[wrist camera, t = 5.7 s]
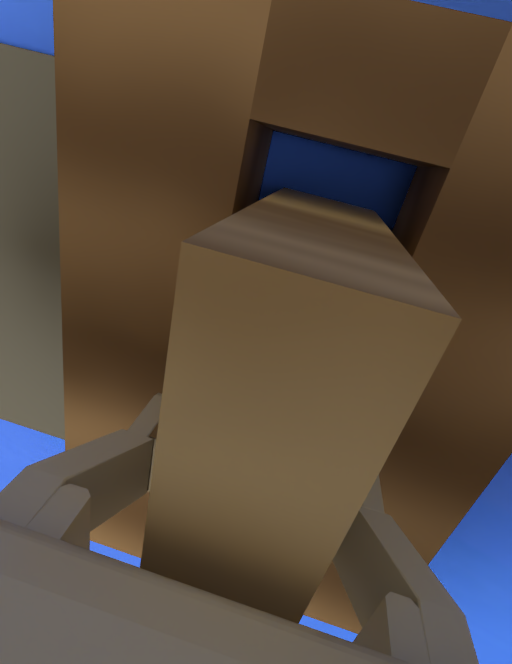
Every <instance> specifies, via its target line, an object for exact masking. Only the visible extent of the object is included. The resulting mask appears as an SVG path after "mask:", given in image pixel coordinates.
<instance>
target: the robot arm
mask: <svg viewBox="0 0 512 664" xmlns="http://www.w3.org/2000/svg"><path fill="white" fill-rule="evenodd" d="M161 399H162V394H160V393H158V394H156V395H154V396H153V398H152V399H151V400H150V402H149V403H148V404H147V406H146V407H145V408H144V409H143V411H142V412H141V413H140V415H139V416H138V417H137V418H136V420H135V421H134V422H133V424H132V425H131V426H130V428H129V429H128V430H124V429H120V430H118V431H115V432H113V433H110V434H108V435H105V436H103V437H100V438H97V439H95V440H92V441H90V442H87V443H85V444H82V445H80V446H77V447H75V448H72V449H70V450H67V451H64V452H62V453H59V454H57V455H54V456H52V457H49V458H47V459H44V460H42V461H39V462H37V463H34V464H32V465H29V466H26V467H25V468H24V469H23V470H22V471H21V472H20V473H19V474H18V475H17V476H16V477H15V478H14V479H13V480H12V481H11V482H10V483H9V484H8V485H7V486H6V487H5V488H4V489H3V490H2V491H1V492H0V664H479V662H478V659H477V655H476V652H475V648H474V645H473V641H472V638H471V634H470V631H469V628H468V624H467V621H466V617H465V615H464V613H463V612H462V611H461V609H460V608H459V607H458V605H457V604H456V603H455V601H454V600H453V599H452V597H451V596H450V595H449V593H448V592H447V590H446V589H445V588H444V586H443V585H442V584H441V582H440V581H439V580H438V578H437V577H436V576H435V574H434V573H433V572H432V570H431V569H430V568H429V566H428V565H427V564H426V562H425V561H424V560H423V558H422V557H421V556H420V554H419V553H418V552H417V550H416V549H415V547H414V546H413V545H412V543H411V542H410V541H409V539H408V538H407V537H406V535H405V534H404V533H403V531H402V530H401V529H400V527H399V526H398V525H397V523H396V522H395V521H394V519H393V518H392V517H391V515H388V514H385V512H384V505H383V499H382V492H381V485H380V479H379V475H378V476H377V478H376V480H375V482H374V484H373V486H372V488H371V489H370V491H369V493H368V495H367V497H366V499H365V501H364V502H363V504H362V506H361V508H360V510H359V512H358V514H357V515H356V517H355V519H354V521H353V523H352V525H351V527H350V529H349V530H348V532H347V534H346V536H345V538H344V540H343V542H342V543H341V545H340V547H339V549H338V551H337V553H336V555H335V556H334V558H333V560H332V561H333V563H334V565H335V568H336V570H337V572H338V574H339V577H340V579H341V581H342V584H343V586H344V588H345V590H346V593H347V595H348V597H349V600H350V602H351V604H352V606H353V609H354V611H355V613H356V616H357V618H358V620H359V622H360V625H361V627H362V630H361V631H360V633H359V634H358V635H357V637H356V638H355V640H354V641H353V642H349V641H347V640H344V639H341V638H338V637H335V636H332V635H329V634H327V633H324V632H321V631H318V630H315V629H312V628H309V627H307V626H304V625H301V624H298V623H295V622H292V621H289V620H287V619H284V618H281V617H278V616H275V615H272V614H269V613H267V612H264V611H261V610H258V609H255V608H252V607H249V606H247V605H244V604H241V603H238V602H235V601H232V600H230V599H227V598H224V597H221V596H218V595H215V594H212V593H210V592H207V591H204V590H201V589H198V588H195V587H193V586H190V585H187V584H184V583H181V582H178V581H176V580H173V579H170V578H167V577H164V576H161V575H159V574H156V573H153V572H150V571H147V570H144V569H141V568H139V567H136V566H133V565H130V564H127V563H124V562H122V561H119V560H116V559H113V558H110V557H107V556H105V555H102V554H99V553H96V552H93V551H90V550H89V545H90V532H91V531H92V530H94V529H95V528H96V527H98V526H99V525H101V524H102V523H104V522H105V521H107V520H108V519H110V518H111V517H113V516H114V515H116V514H117V513H118V512H120V511H121V510H123V509H124V508H126V507H127V506H129V505H130V504H132V503H133V502H135V501H136V500H138V499H139V498H141V497H142V496H143V495H145V494H146V493H147V491H148V492H150V486H151V478H152V470H153V462H154V454H155V447H156V439H157V431H158V423H159V415H160V407H161Z"/></svg>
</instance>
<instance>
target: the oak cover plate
mask: <svg viewBox="0 0 512 664" xmlns="http://www.w3.org/2000/svg"><path fill="white" fill-rule="evenodd" d="M461 320H462V319H461V317H460V316H459V315H458V314H457V312H456V311H455V310H454V309H453V307H452V306H451V305H450V304H449V302H448V301H447V300H446V299H445V297H444V296H443V295H442V294H441V293H440V291H439V290H438V289H437V288H436V286H435V285H434V284H433V283H432V281H431V280H430V279H429V278H428V276H427V275H426V274H425V273H424V271H423V270H422V269H421V268H420V266H419V265H418V264H417V263H416V261H415V260H414V259H413V258H412V256H411V255H410V254H409V253H408V252H407V250H406V249H405V248H404V247H403V245H402V244H401V243H400V242H399V240H398V239H397V238H396V237H395V235H394V234H393V233H392V232H391V230H390V229H389V228H388V227H387V225H386V224H385V223H384V222H383V220H382V219H381V218H380V217H379V215H378V214H377V213H376V212H375V211H374V210H370V209H366V208H362V207H359V206H355V205H351V204H347V203H343V202H339V201H335V200H332V199H328V198H324V197H320V196H316V195H312V194H308V193H305V192H301V191H297V190H293V189H289V188H285V187H284V188H282V189H280V190H278V191H276V192H274V193H273V194H271V195H269V196H267V197H265V198H263V199H261V200H259V201H257V202H256V203H254V204H252V205H250V206H248V207H246V208H244V209H242V210H240V211H239V212H237V213H235V214H233V215H231V216H229V217H227V218H225V219H223V220H221V221H220V222H218V223H216V224H214V225H212V226H210V227H208V228H206V229H204V230H203V231H201V232H199V233H197V234H195V235H193V236H191V237H189V238H187V239H186V240H184V241H182V243H181V250H180V258H179V266H178V274H177V282H176V290H175V298H174V305H173V313H172V321H171V329H170V337H169V345H168V352H167V360H166V368H165V376H164V384H163V392H162V399H161V407H160V415H159V423H158V431H157V439H156V447H155V454H154V462H153V470H152V478H151V486H150V494H149V501H148V509H147V517H146V525H145V533H144V541H143V549H142V556H141V564H140V568H141V569H144V570H147V571H150V572H153V573H156V574H159V575H161V576H164V577H167V578H170V579H173V580H176V581H178V582H181V583H184V584H187V585H190V586H193V587H195V588H198V589H201V590H204V591H207V592H210V593H212V594H215V595H218V596H221V597H224V598H227V599H230V600H232V601H235V602H238V603H241V604H244V605H247V606H249V607H252V608H255V609H258V610H261V611H264V612H267V613H269V614H272V615H275V616H278V617H281V618H284V619H287V620H289V621H292V622H295V623H299V622H300V620H301V618H302V616H303V614H304V612H305V610H306V609H307V607H308V605H309V603H310V601H311V599H312V597H313V596H314V594H315V592H316V590H317V588H318V586H319V584H320V582H321V581H322V579H323V577H324V575H325V573H326V571H327V569H328V568H329V566H330V564H331V562H332V560H333V558H334V556H335V555H336V553H337V551H338V549H339V547H340V545H341V543H342V542H343V540H344V538H345V536H346V534H347V532H348V530H349V529H350V527H351V525H352V523H353V521H354V519H355V517H356V515H357V514H358V512H359V510H360V508H361V506H362V504H363V502H364V501H365V499H366V497H367V495H368V493H369V491H370V489H371V488H372V486H373V484H374V482H375V480H376V478H377V476H378V475H379V473H380V471H381V469H382V467H383V465H384V463H385V462H386V460H387V458H388V456H389V454H390V452H391V450H392V449H393V447H394V445H395V443H396V441H397V439H398V437H399V435H400V434H401V432H402V430H403V428H404V426H405V424H406V422H407V421H408V419H409V417H410V415H411V413H412V411H413V409H414V408H415V406H416V404H417V402H418V400H419V398H420V396H421V395H422V393H423V391H424V389H425V387H426V385H427V383H428V382H429V380H430V378H431V376H432V374H433V372H434V370H435V368H436V367H437V365H438V363H439V361H440V359H441V357H442V355H443V354H444V352H445V350H446V348H447V346H448V344H449V342H450V341H451V339H452V337H453V335H454V333H455V331H456V329H457V328H458V326H459V324H460V322H461Z"/></svg>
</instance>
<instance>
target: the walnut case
mask: <svg viewBox="0 0 512 664" xmlns="http://www.w3.org/2000/svg"><path fill="white" fill-rule="evenodd" d="M53 21H54V57H55V93H56V129H57V165H58V201H59V237H60V273H61V309H62V346H63V382H64V418H65V451H67V450H70V449H72V448H75V447H77V446H80V445H82V444H85V443H87V442H90V441H92V440H95V439H97V438H100V437H103V436H105V435H108V434H110V433H113V432H115V431H118V430H120V429H124V430H128V429H129V428H130V426H131V425H132V424H133V422H134V421H135V420H136V418H137V417H138V416H139V415H140V413H141V412H142V411H143V409H144V408H145V407H146V406H147V404H148V403H149V402H150V400H151V399H152V398H153V396H154V395H156V394H158V393H160V394H162V392H163V384H164V376H165V368H166V360H167V352H168V345H169V337H170V329H171V321H172V313H173V305H174V298H175V290H176V282H177V274H178V266H179V258H180V250H181V243H182V241H184V240H186V239H187V238H189V237H191V236H193V235H195V234H197V233H199V232H201V231H203V230H204V229H206V228H208V227H210V226H212V225H214V224H216V223H218V222H220V221H221V220H223V219H225V218H227V217H229V216H231V215H233V214H235V213H237V212H239V211H240V210H242V209H244V208H246V207H248V206H250V205H252V204H254V203H256V202H257V201H258V199H259V194H260V189H261V185H262V180H263V175H264V171H265V166H266V161H267V157H268V152H269V147H270V142H271V138H272V133H273V130H274V131H278V132H282V133H286V134H290V135H294V136H298V137H302V138H306V139H310V140H314V141H318V142H322V143H326V144H330V145H334V146H338V147H342V148H346V149H350V150H354V151H358V152H362V153H366V154H370V155H374V156H379V157H383V158H387V159H391V160H395V161H399V162H403V163H407V164H411V165H415V166H417V169H416V171H415V174H414V176H413V179H412V181H411V184H410V187H409V189H408V192H407V194H406V197H405V199H404V202H403V204H402V207H401V210H400V212H399V215H398V217H397V220H396V222H395V225H394V228H393V230H392V233H393V234H394V235H395V237H396V238H397V239H398V240H399V242H400V243H401V244H402V245H403V247H404V248H405V249H406V250H407V252H408V253H409V254H410V255H411V256H412V258H413V259H414V260H415V261H416V263H417V264H418V265H419V266H420V268H421V269H422V270H423V271H424V273H425V274H426V275H427V276H428V278H429V279H430V280H431V281H432V283H433V284H434V285H435V286H436V288H437V289H438V290H439V291H440V293H441V294H442V295H443V296H444V297H445V299H446V300H447V301H448V302H449V304H450V305H451V306H452V307H453V309H454V310H455V311H456V312H457V314H458V315H459V316H460V317H461V319H462V320H461V322H460V324H459V326H458V328H457V329H456V331H455V333H454V335H453V337H452V339H451V341H450V342H449V344H448V346H447V348H446V350H445V352H444V354H443V355H442V357H441V359H440V361H439V363H438V365H437V367H436V368H435V370H434V372H433V374H432V376H431V378H430V380H429V382H428V383H427V385H426V387H425V389H424V391H423V393H422V395H421V396H420V398H419V400H418V402H417V404H416V406H415V408H414V409H413V411H412V413H411V415H410V417H409V419H408V421H407V422H406V424H405V426H404V428H403V430H402V432H401V434H400V435H399V437H398V439H397V441H396V443H395V445H394V447H393V449H392V450H391V452H390V454H389V456H388V458H387V460H386V462H385V463H384V465H383V467H382V469H381V471H380V473H379V479H380V485H381V492H382V499H383V505H384V512H385V514H388V515H391V517H392V518H393V519H394V521H395V522H396V523H397V525H398V526H399V527H400V529H401V530H402V531H403V533H404V534H405V535H406V537H407V538H408V539H409V541H410V542H411V543H412V545H413V546H414V547H415V549H416V550H417V552H418V553H419V554H420V556H421V557H422V558H423V560H424V561H425V562H426V564H427V565H428V564H429V563H430V561H431V560H432V559H433V557H434V556H435V555H436V553H437V552H438V551H439V549H440V548H441V547H442V545H443V544H444V543H445V541H446V540H447V539H448V537H449V536H450V535H451V533H452V532H453V531H454V529H455V528H456V527H457V525H458V524H459V523H460V521H461V520H462V519H463V517H464V516H465V515H466V513H467V512H468V511H469V509H470V508H471V507H472V505H473V504H474V503H475V501H476V500H477V499H478V497H479V496H480V495H481V493H482V492H483V491H484V489H485V488H486V487H487V485H488V484H489V483H490V481H491V480H492V479H493V477H494V476H495V475H496V473H497V472H498V471H499V469H500V468H501V467H502V465H503V464H504V463H505V461H506V460H507V459H508V457H509V456H510V455H511V453H512V22H509V21H504V20H500V19H495V18H490V17H486V16H481V15H476V14H472V13H467V12H462V11H458V10H453V9H448V8H444V7H439V6H434V5H430V4H425V3H420V2H416V1H411V0H53ZM149 494H150V492H148V491H147V493H146V494H145V495H143V496H142V497H141V498H139V499H138V500H136V501H135V502H133V503H132V504H130V505H129V506H127V507H126V508H124V509H123V510H121V511H120V512H118V513H117V514H116V515H114V516H113V517H111V518H110V519H108V520H107V521H105V522H104V523H102V524H101V525H99V526H98V527H96V528H95V529H94V530H92V531H91V532H90V540H91V541H93V542H96V543H99V544H102V545H105V546H108V547H111V548H113V549H116V550H119V551H122V552H125V553H128V554H131V555H134V556H136V557H139V558H141V556H142V549H143V541H144V533H145V525H146V517H147V509H148V501H149ZM303 615H305V616H308V617H311V618H314V619H317V620H320V621H323V622H325V623H328V624H331V625H334V626H337V627H340V628H343V629H345V630H348V631H351V632H354V633H357V634H359V633H360V631H361V630H362V627H361V625H360V622H359V620H358V618H357V616H356V613H355V611H354V609H353V606H352V604H351V602H350V600H349V597H348V595H347V593H346V590H345V588H344V586H343V584H342V581H341V579H340V577H339V574H338V572H337V570H336V568H335V565H334V563H333V561H332V562H331V564H330V566H329V568H328V569H327V571H326V573H325V575H324V577H323V579H322V581H321V582H320V584H319V586H318V588H317V590H316V592H315V594H314V596H313V597H312V599H311V601H310V603H309V605H308V607H307V609H306V610H305V612H304V614H303Z"/></svg>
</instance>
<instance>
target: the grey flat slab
mask: <svg viewBox="0 0 512 664" xmlns="http://www.w3.org/2000/svg"><path fill="white" fill-rule="evenodd" d="M0 419H3V420H6V421H9V422H12V423H15V424H18V425H21V426H24V427H27V428H30V429H33V430H37V431H40V432H43V433H46V434H49V435H52V436H55V437H58V438H61V439H64V440H65V418H64V382H63V346H62V309H61V273H60V237H59V201H58V165H57V129H56V93H55V57H54V56H51V55H47V54H43V53H39V52H35V51H31V50H27V49H23V48H18V47H14V46H10V45H6V44H2V43H0Z"/></svg>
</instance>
